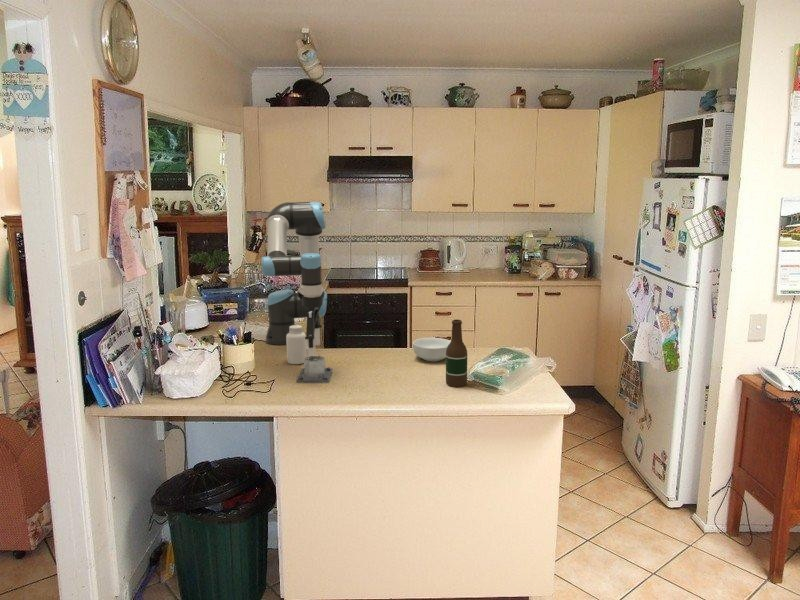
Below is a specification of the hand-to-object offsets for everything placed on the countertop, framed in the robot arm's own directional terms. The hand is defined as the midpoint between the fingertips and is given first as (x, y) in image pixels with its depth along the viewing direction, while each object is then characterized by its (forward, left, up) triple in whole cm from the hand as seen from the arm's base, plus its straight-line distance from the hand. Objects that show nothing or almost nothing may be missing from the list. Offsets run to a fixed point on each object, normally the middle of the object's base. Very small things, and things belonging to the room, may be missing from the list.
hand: (314, 350), depth 240 cm
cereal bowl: (-22, +46, -11) cm, 52 cm away
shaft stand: (0, 0, -10) cm, 10 cm away
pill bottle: (-19, -10, -11) cm, 24 cm away
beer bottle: (+10, +53, -11) cm, 55 cm away
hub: (0, 0, -9) cm, 9 cm away
